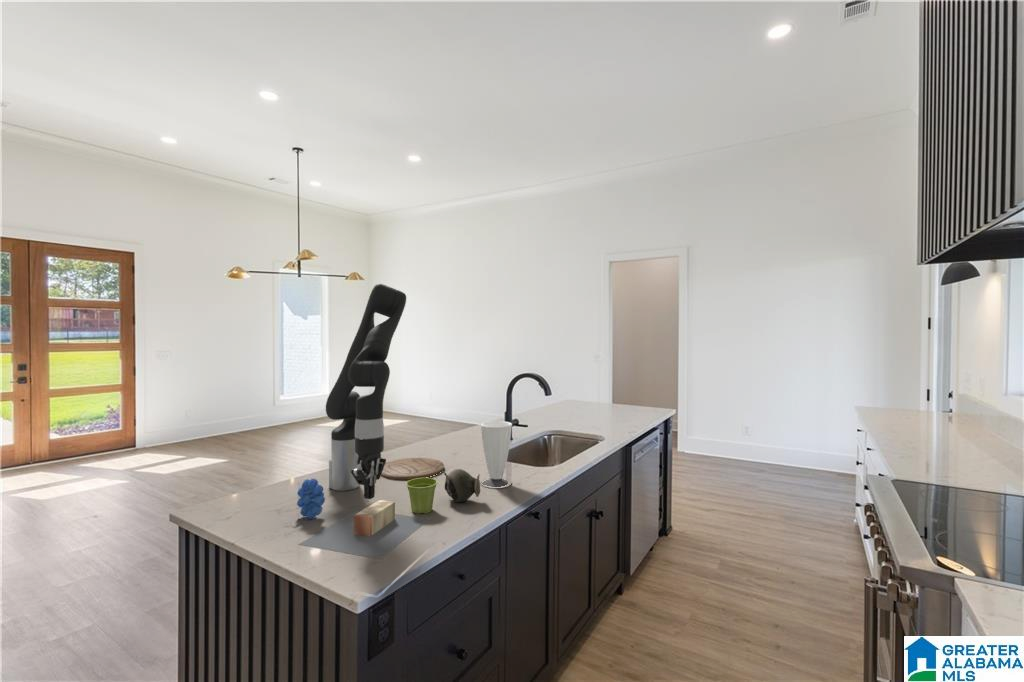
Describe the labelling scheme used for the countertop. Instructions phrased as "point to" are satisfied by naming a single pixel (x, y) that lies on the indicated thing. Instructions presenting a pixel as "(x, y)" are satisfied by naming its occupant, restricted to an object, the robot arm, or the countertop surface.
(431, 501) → the plant pot
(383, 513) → the maple block
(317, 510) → the grapes
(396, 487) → the countertop surface
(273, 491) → the countertop surface
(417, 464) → the trivet
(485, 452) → the cup
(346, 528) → the rubber mat
